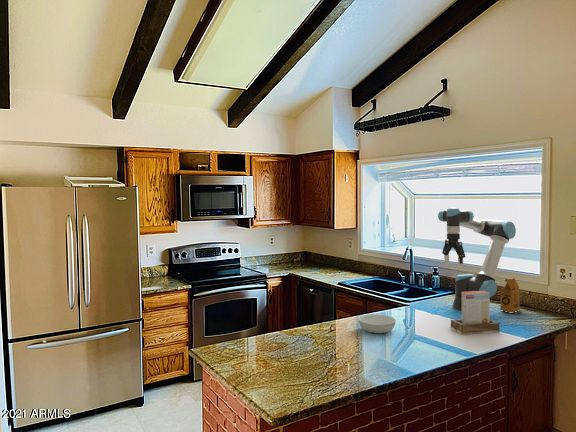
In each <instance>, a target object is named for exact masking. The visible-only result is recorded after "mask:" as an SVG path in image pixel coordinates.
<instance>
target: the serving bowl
mask: <svg viewBox="0 0 576 432" xmlns="http://www.w3.org/2000/svg"><path fill="white" fill-rule="evenodd" d="M357 321H358V324H359V326H360V327H361V329H363V330H365V332H369V333H372V332H373V333H374V334H383V333H388V332H390V331H392V330H393V329H394V327H395V326H396V322H397V320H396V319H395V318H394V317H392V316H389V315H385V314H375V313H374V314H370V313H369V314H363V315H360V316H359V317H358V318H357Z"/></svg>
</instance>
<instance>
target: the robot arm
mask: <svg viewBox="0 0 576 432" xmlns="http://www.w3.org/2000/svg"><path fill="white" fill-rule="evenodd" d="M474 216H475V213H474V212H473V211H472V210H470V209H466V210H462V209H461V210H460V208H459V207H448V208H447V209H442V210H441V209H440V210H439V212H438V213H437V218H438V220H439V221H440V222H443V223H445V222H446V239H445V240H444V245H443V248H442V251H441V253H442V254H443V255H444V267H446V266H447V267H448V266H450V255H449V253H450V252H451V250H452V249H454V251H455V252H456V255H457V269H458V270H462V269H463V268H464V267H463V266H464V265H463V263H464V258H466V253H465V250H464V247H463V241H459V240H460V239H461V238H460V232H461V230H460V228H461V227H462V228H466V229H468V230H473V232H475V233H478V234H480V235H483V236H485V237H489V239H490V240H491V241H490V243H489V246H488V249H487V252H486V255H485V257H484V260H483V264H482V266H481V269H480V272H477V273H476V275H474V274H471V273H466V274H457V275H456V276H455V282H454V285H455V286H454V287H455V289H454V290H455V297H454V299H453V303H452V309H454V310H457V309H458V310H457V311H462V292H467V291H486V292H489V293H490V298H492V297H493V296H495V294H496V292H497V290H498V287H497V286H498V285H497V282H496V278H495V275H496V272H497V268H498V266H499V263H500V260H501V257H502V254H503V251H504V247H505V246H506V244H508V243H509V241H510V240H512V239H514V237H515V236H516V233H517V231H516V226H515V223H514V222H513V221H511V220H505V219H503V220H502V219H501V220H497V219H482V218H474Z"/></svg>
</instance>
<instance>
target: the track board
mask: <svg viewBox="0 0 576 432" xmlns="http://www.w3.org/2000/svg"><path fill="white" fill-rule="evenodd" d="M500 326H501V325H500V323H499V322H497V321H495V320H492V319H490V323H482V324H468V325H464V324H462V318H457V319H450V329H452V330H453V331H455V332H457V333H460V334H461V335H464V336H470V335H480V334H493V333H494V334H495V333H500Z"/></svg>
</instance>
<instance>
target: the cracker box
mask: <svg viewBox="0 0 576 432" xmlns="http://www.w3.org/2000/svg"><path fill="white" fill-rule="evenodd" d="M490 298H491V297H490V293H489V292H486V291H467V292H462V310H461V319H462V324H464V325H468V324H482V323H490V320H491V319H490V317H491V316H490V313H491V312H490V310H491V309H490V303H491V302H490Z"/></svg>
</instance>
